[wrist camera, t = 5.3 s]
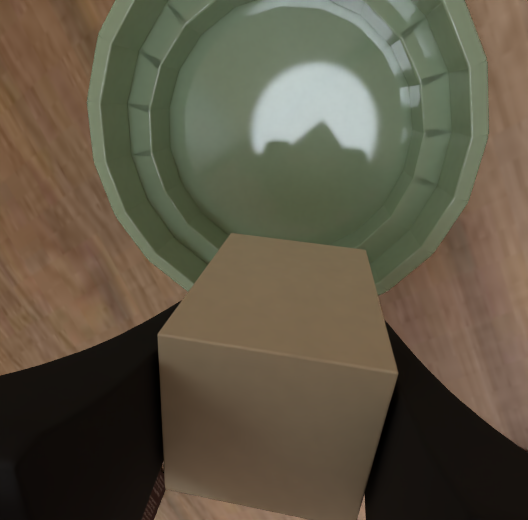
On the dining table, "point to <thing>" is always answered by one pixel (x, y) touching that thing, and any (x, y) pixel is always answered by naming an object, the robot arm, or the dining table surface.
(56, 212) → the dining table surface
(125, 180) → the green bowl
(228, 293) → the block
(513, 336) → the dining table surface
